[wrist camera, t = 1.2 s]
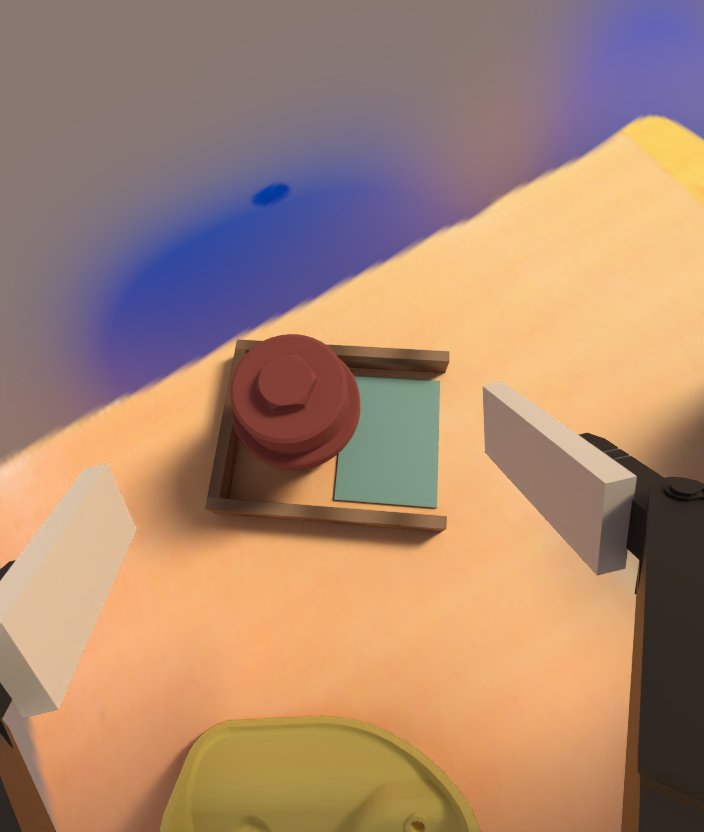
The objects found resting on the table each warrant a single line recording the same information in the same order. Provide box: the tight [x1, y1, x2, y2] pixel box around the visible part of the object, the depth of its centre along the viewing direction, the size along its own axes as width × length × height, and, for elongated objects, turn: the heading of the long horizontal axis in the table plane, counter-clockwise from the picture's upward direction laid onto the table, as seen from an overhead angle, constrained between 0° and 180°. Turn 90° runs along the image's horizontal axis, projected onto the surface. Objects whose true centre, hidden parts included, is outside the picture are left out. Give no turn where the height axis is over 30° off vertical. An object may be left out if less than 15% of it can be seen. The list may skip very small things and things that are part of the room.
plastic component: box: [159, 716, 480, 832], centre depth 32 cm, size 20×7×10 cm
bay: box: [205, 340, 449, 532], centre depth 41 cm, size 20×16×2 cm
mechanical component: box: [230, 334, 360, 470], centre depth 37 cm, size 12×10×10 cm
